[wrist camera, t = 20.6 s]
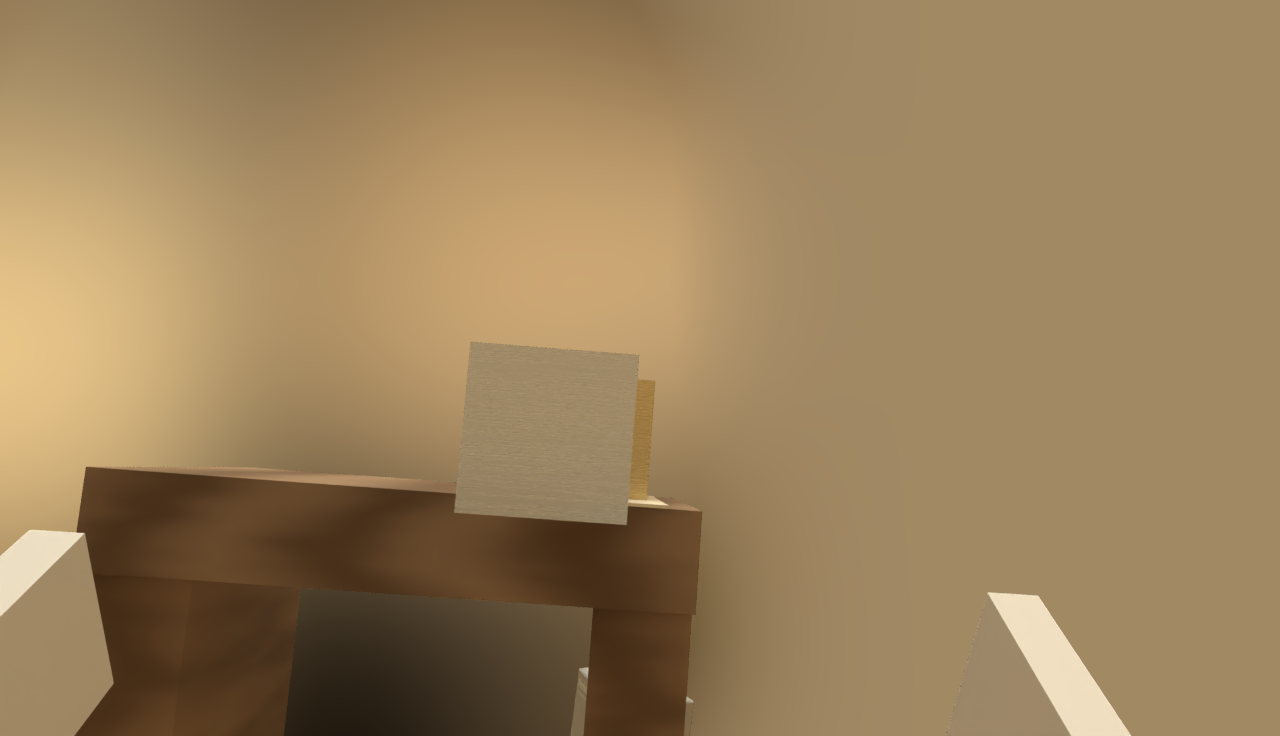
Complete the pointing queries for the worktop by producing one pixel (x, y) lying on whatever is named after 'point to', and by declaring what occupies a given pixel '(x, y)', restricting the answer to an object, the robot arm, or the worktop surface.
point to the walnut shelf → (358, 587)
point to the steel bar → (554, 434)
